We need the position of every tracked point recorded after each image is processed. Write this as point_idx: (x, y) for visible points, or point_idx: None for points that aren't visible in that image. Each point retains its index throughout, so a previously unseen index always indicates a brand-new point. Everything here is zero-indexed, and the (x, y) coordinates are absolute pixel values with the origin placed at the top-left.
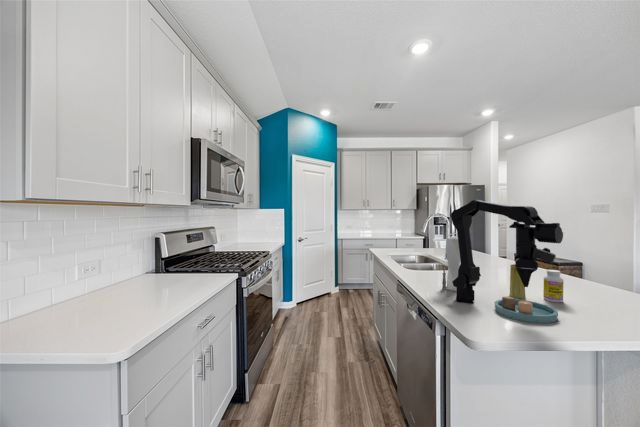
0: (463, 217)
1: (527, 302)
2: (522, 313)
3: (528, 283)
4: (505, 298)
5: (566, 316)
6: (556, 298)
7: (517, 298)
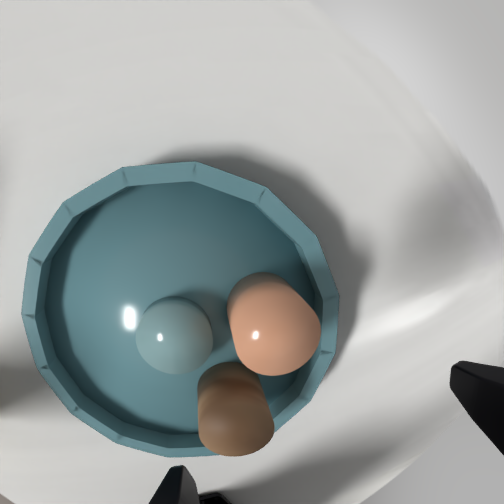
0: None
1: (256, 332)
2: (325, 311)
3: (494, 367)
4: (261, 438)
5: (55, 150)
6: None
7: None
